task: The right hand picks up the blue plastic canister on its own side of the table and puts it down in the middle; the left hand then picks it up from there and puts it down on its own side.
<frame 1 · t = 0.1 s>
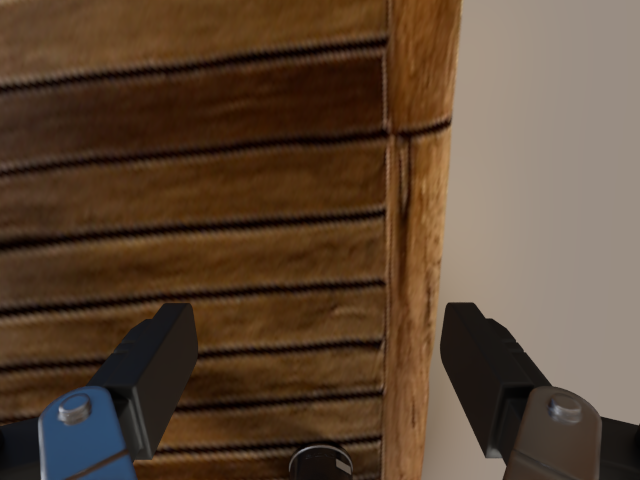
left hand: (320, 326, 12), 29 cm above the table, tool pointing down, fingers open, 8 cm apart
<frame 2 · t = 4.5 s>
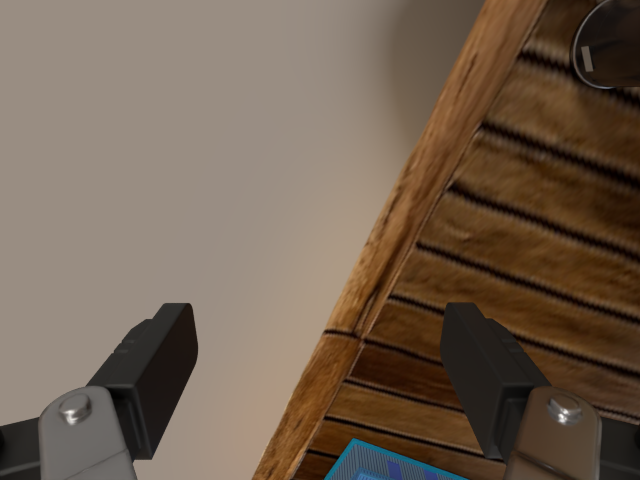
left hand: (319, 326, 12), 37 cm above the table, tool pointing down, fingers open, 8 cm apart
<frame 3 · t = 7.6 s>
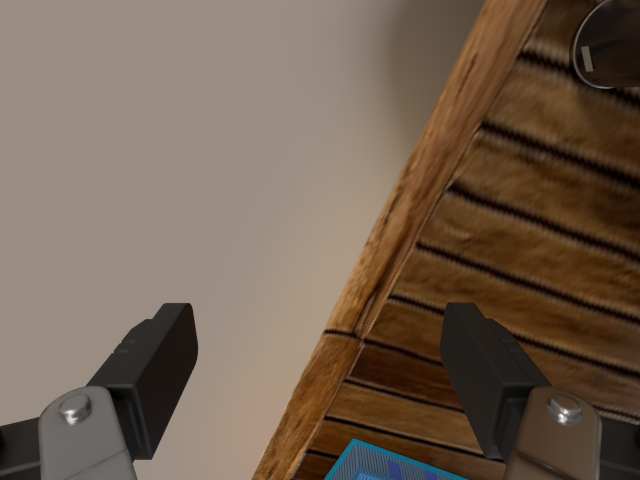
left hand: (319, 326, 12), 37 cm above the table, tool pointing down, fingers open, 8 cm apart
when the right hand's fingers open (2 cm above the table, at t = 10.9 s): canister stays where it is, on the table.
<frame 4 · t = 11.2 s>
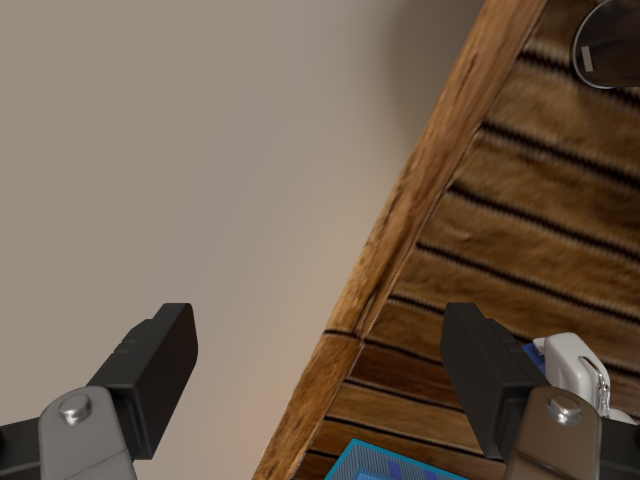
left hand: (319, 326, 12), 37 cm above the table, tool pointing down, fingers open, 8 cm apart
canister: (530, 355, 58), on the table
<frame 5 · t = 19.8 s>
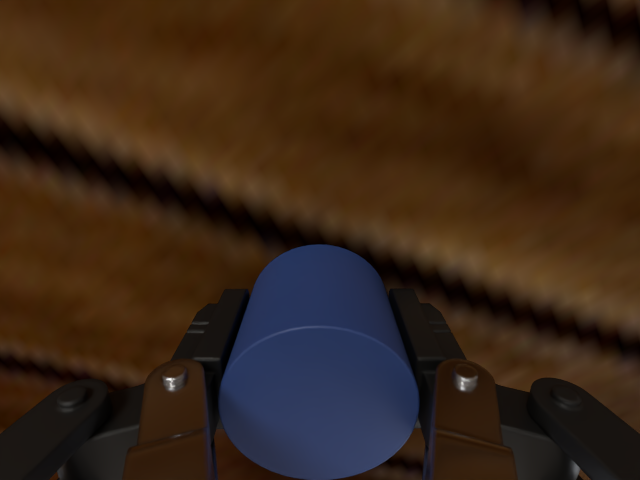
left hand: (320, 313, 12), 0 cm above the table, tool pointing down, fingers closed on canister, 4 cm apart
canister: (319, 306, 13), on the table, touching left hand
when the left hand's fingers open (1 cm above the table, at t = 24.0 s): canister stays where it is, on the table.
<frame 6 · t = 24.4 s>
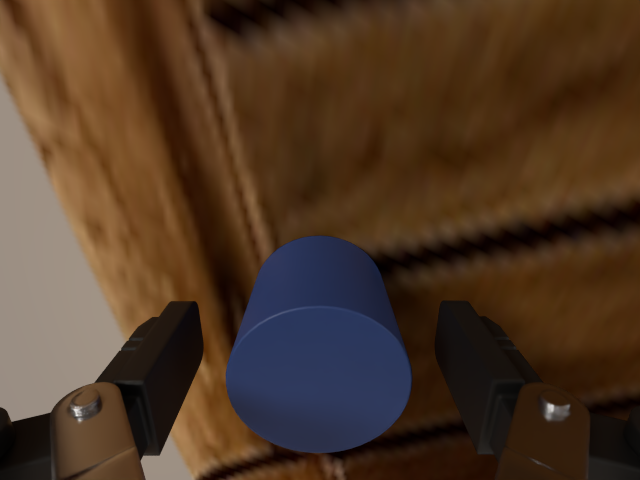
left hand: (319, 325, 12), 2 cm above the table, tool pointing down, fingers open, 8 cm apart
canister: (319, 295, 14), on the table
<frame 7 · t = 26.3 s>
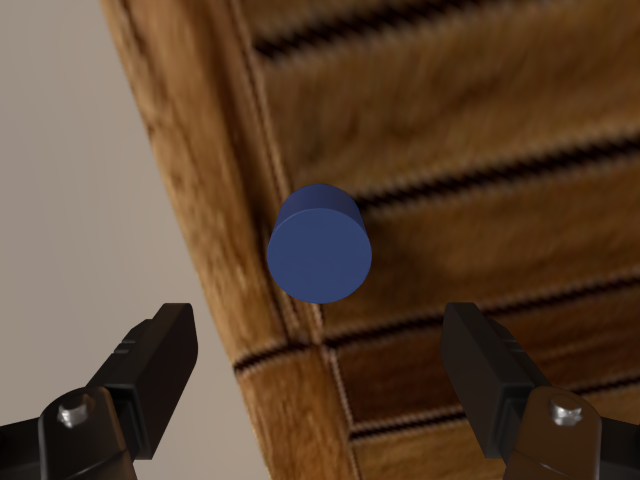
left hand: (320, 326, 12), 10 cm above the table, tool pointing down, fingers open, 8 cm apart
canister: (319, 224, 21), on the table
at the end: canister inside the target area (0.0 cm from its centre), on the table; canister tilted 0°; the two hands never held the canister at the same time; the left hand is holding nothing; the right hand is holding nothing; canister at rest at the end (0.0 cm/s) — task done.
